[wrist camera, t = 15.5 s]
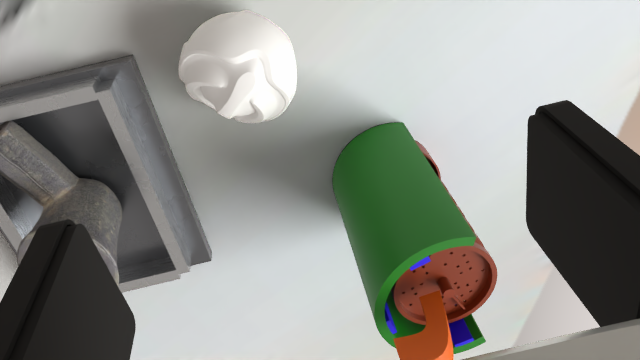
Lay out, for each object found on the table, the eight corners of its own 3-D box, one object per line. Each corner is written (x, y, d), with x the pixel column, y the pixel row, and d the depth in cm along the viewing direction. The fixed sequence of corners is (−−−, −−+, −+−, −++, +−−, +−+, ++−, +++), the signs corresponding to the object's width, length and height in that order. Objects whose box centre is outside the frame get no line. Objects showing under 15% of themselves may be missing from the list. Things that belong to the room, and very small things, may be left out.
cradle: (-72, 103, 39) (-94, 122, 36) (133, 54, 39) (125, 70, 37) (50, 290, 49) (39, 316, 47) (211, 252, 50) (210, 275, 47)
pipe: (33, 98, 39) (-9, 153, 32) (155, 215, 45) (141, 281, 39) (-29, 143, 40) (-82, 205, 33) (98, 251, 46) (76, 321, 40)
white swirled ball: (167, 67, 40) (154, 111, 34) (214, -26, 37) (211, 3, 31) (262, 115, 43) (267, 164, 37) (313, 33, 40) (328, 71, 34)
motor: (449, 196, 50) (558, 377, 33) (361, 238, 51) (424, 434, 34) (408, 108, 45) (513, 272, 28) (311, 158, 46) (357, 343, 29)
